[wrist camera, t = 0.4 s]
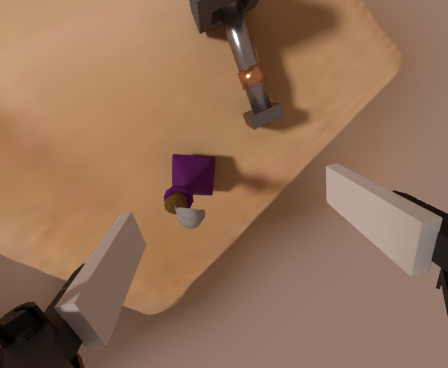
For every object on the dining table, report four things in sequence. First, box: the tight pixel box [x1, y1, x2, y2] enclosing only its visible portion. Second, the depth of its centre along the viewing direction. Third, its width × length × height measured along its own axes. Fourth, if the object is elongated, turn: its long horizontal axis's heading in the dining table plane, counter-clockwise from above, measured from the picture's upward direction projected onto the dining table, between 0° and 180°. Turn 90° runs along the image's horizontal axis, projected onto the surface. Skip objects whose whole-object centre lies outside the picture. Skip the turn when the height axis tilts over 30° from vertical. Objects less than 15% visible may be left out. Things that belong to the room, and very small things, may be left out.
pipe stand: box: [218, 0, 284, 129], centre depth 31 cm, size 22×5×7 cm, turn 23°
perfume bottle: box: [164, 154, 215, 229], centre depth 33 cm, size 8×8×18 cm
